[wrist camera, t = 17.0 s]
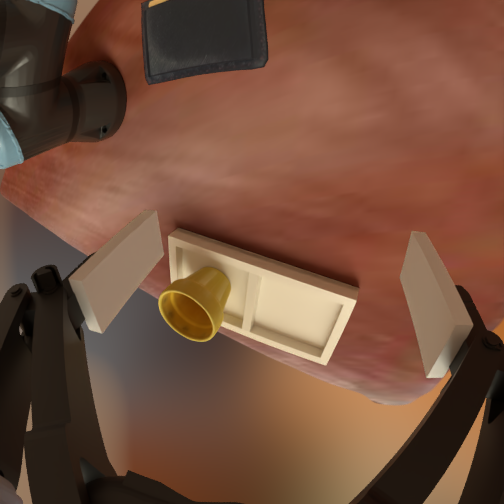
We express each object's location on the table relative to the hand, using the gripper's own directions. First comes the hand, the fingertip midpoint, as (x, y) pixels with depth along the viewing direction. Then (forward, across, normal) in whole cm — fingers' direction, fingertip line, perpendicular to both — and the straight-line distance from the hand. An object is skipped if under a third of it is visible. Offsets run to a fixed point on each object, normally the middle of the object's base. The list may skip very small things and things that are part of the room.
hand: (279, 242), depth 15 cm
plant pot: (+28, -14, -24) cm, 39 cm away
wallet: (+29, -14, +17) cm, 36 cm away
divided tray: (+27, -6, -25) cm, 38 cm away
